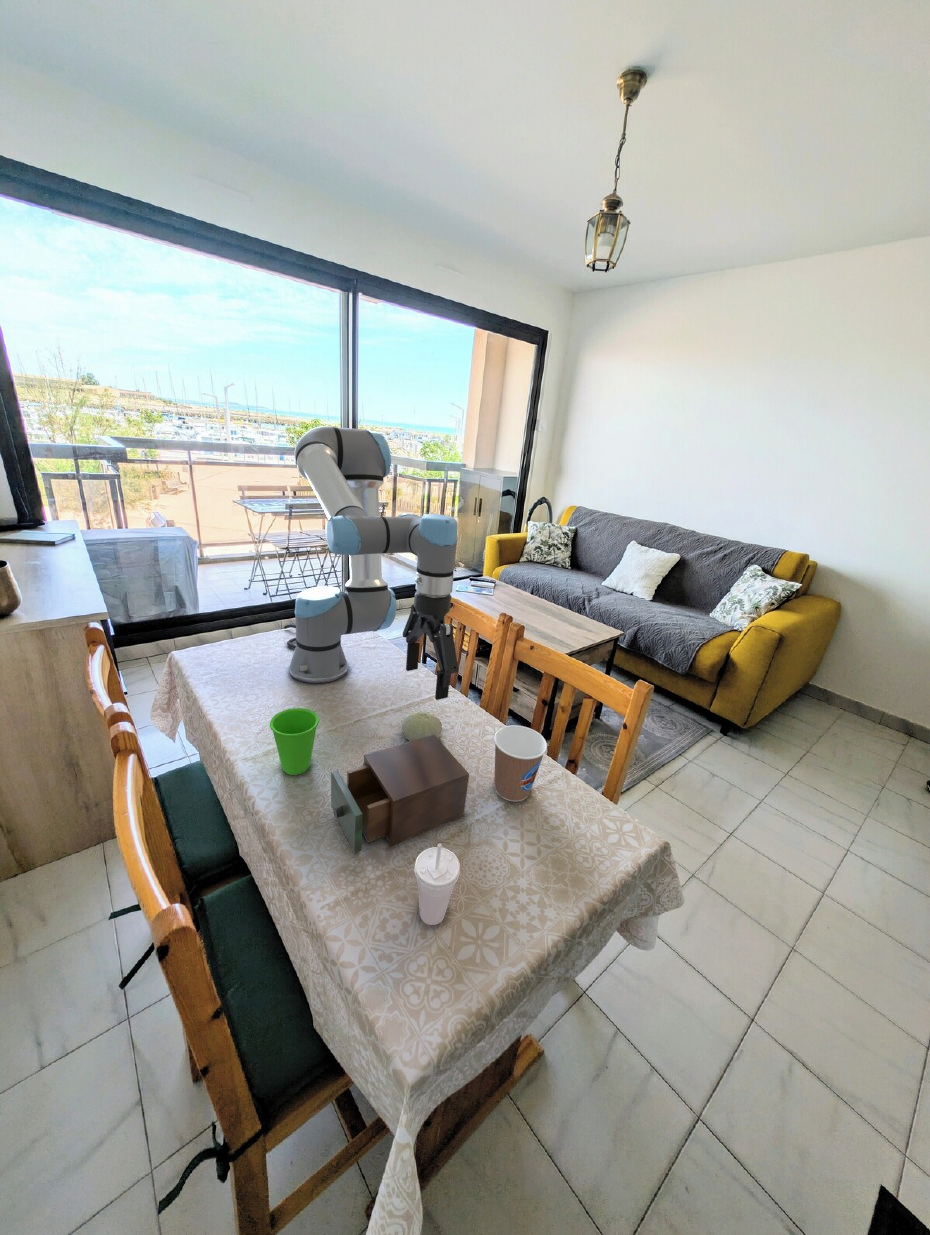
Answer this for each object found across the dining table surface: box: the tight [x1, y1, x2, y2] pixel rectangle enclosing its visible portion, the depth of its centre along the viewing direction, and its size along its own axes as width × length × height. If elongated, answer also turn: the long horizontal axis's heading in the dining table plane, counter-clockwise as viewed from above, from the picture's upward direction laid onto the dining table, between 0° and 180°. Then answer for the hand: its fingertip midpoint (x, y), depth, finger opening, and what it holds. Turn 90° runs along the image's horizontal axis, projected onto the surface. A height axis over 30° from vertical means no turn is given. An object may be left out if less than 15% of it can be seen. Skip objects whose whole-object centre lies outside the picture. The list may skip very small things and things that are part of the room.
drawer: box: [330, 765, 391, 854], centre depth 82 cm, size 15×12×8 cm
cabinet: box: [362, 735, 470, 847], centre depth 86 cm, size 15×13×10 cm
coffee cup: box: [493, 724, 548, 803], centre depth 93 cm, size 10×10×12 cm
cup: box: [269, 707, 320, 776], centre depth 93 cm, size 9×9×11 cm
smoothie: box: [414, 843, 461, 926], centre depth 67 cm, size 6×6×14 cm
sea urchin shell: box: [401, 710, 443, 742], centre depth 108 cm, size 9×8×8 cm
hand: (425, 683), depth 104 cm, fingers open, 13 cm apart
